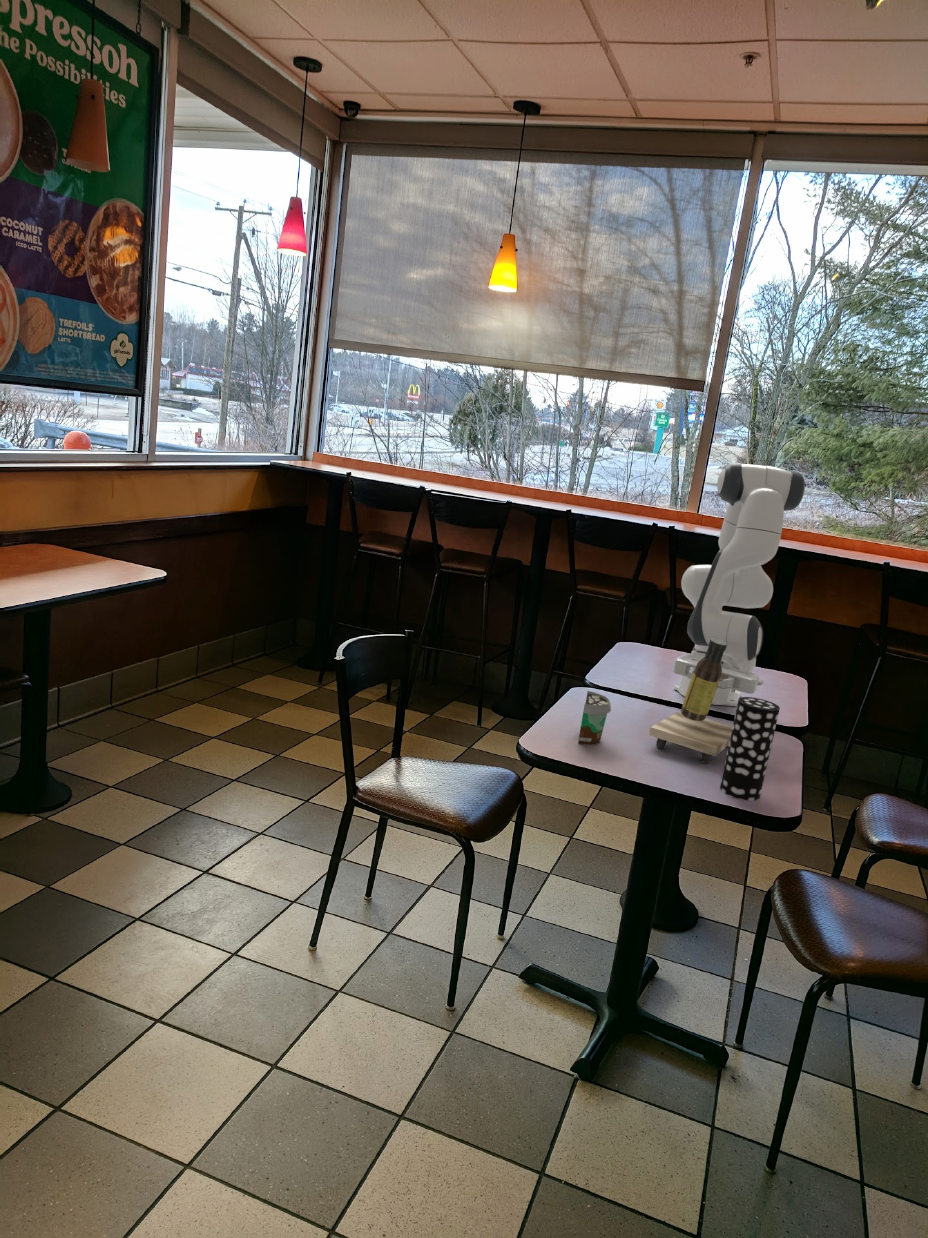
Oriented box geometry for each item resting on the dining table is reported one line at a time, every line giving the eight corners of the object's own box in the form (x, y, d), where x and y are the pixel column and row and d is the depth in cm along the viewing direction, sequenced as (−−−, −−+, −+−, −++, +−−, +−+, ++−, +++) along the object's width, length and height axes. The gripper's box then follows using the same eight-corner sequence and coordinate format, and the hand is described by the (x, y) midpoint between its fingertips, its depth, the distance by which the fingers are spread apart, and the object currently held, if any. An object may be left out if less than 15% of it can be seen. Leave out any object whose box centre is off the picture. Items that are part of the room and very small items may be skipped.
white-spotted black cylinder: (768, 800, 182) (788, 710, 178) (734, 800, 179) (754, 709, 175) (744, 784, 190) (763, 697, 185) (712, 784, 187) (730, 696, 183)
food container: (604, 750, 199) (611, 709, 196) (577, 745, 200) (584, 704, 197) (606, 734, 210) (613, 695, 208) (581, 729, 211) (587, 690, 209)
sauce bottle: (709, 723, 207) (738, 648, 200) (688, 722, 205) (717, 647, 198) (694, 710, 213) (722, 637, 206) (674, 708, 210) (701, 635, 203)
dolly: (676, 729, 222) (679, 710, 220) (737, 748, 213) (742, 729, 212) (646, 746, 205) (650, 727, 204) (712, 768, 197) (716, 747, 196)
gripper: (762, 693, 211) (746, 704, 200) (683, 672, 222) (663, 681, 211) (768, 669, 210) (752, 678, 199) (687, 648, 221) (668, 656, 209)
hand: (705, 679), depth 205 cm, fingers closed on sauce bottle, 6 cm apart
